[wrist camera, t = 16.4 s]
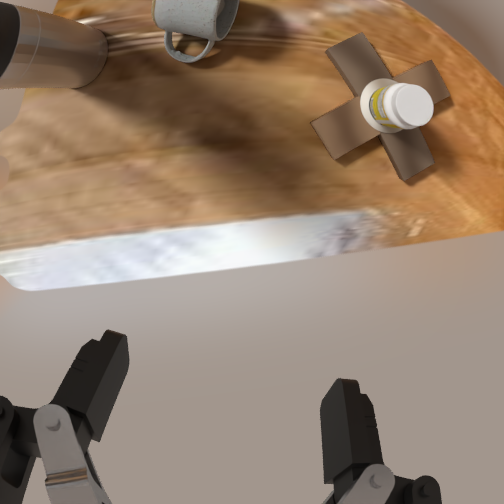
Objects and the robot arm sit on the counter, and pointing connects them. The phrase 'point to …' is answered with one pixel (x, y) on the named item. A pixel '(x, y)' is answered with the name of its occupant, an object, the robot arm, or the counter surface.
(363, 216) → the counter surface
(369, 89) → the walnut cross joint
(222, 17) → the ceramic mug
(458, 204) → the counter surface
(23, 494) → the robot arm
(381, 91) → the supplement bottle
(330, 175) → the counter surface
